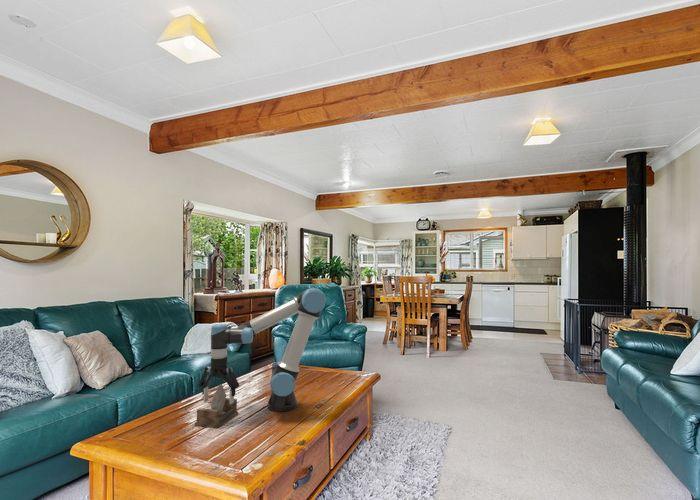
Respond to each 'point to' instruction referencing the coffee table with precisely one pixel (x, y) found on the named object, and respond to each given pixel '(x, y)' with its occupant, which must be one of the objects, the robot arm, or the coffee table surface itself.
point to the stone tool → (218, 399)
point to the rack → (216, 415)
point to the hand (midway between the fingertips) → (218, 402)
